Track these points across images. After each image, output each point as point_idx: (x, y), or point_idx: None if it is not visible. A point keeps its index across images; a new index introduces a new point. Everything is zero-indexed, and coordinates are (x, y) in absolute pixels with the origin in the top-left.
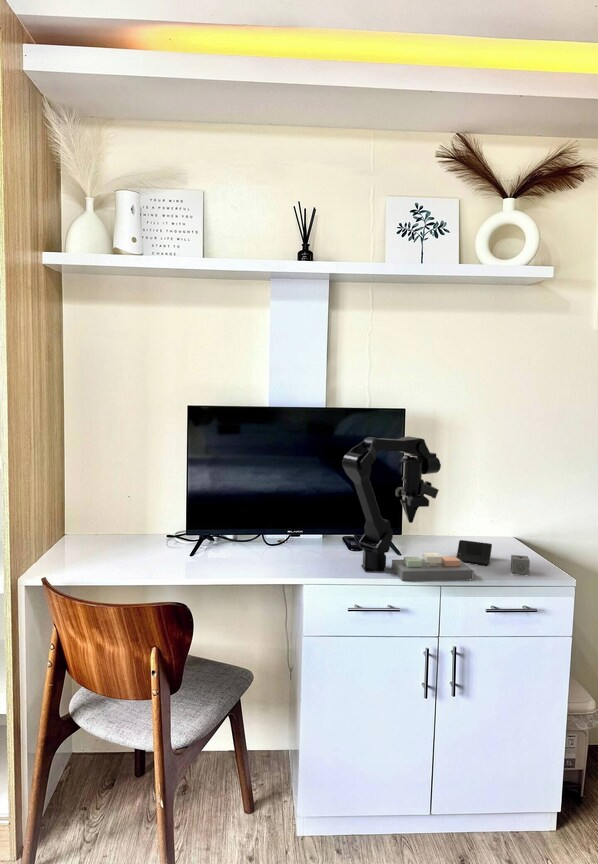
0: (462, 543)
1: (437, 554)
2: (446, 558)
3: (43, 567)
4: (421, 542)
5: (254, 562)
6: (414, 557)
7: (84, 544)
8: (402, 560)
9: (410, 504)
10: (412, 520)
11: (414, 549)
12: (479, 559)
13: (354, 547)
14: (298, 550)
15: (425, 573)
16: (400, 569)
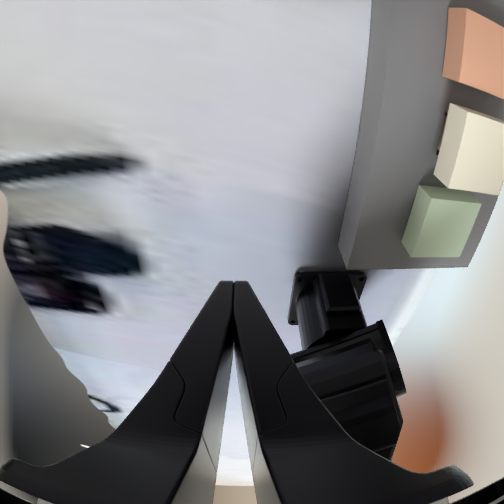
0: None
1: (491, 127)
2: (489, 76)
3: (245, 484)
4: None
5: (234, 432)
6: (433, 217)
7: None
8: (369, 235)
9: (494, 496)
10: (254, 301)
11: (40, 81)
12: None
13: (70, 296)
14: (142, 392)
15: None
16: (449, 266)
